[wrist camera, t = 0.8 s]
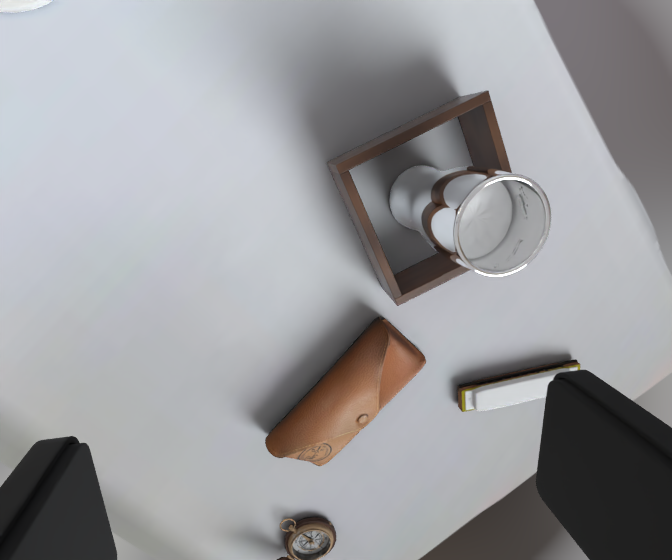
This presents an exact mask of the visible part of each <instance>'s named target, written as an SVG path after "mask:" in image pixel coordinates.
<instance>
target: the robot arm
mask: <svg viewBox="0 0 672 560" xmlns="http://www.w3.org/2000/svg"><path fill="white" fill-rule="evenodd" d="M52 1H53V0H0V12H9V13H18V12H24V11H30V10H35V9H37V8H40V7H42V6H45V5H47V4H49V3H51V2H52ZM536 486H537V489H538V493H539V494H540V497H541V498H542V500H543V501H544V502H545V504H546V505H547V506H548V508H549V509H550V510H551V511H552V512H553V514H554V515H555V516H556V518H557V519H558V520H559V521H560V523H561V524H562V525H563V526H564V528H565V529H566V530H567V532H568V533H569V534H570V535H571V537H572V538H573V539H574V540H575V541H576V543H577V544H578V545H579V547H580V548H581V549H582V550H583V552H584V553H585V554H586V556H587V557H588V558H589V559H590V560H672V428H671V427H670V426H668V425H667V424H665V423H664V422H662V421H661V420H659V419H658V418H657V417H655V416H654V415H652V414H651V413H649V412H648V411H646V410H645V409H643V408H642V407H641V406H639V405H638V404H636V403H635V402H633V401H632V400H630V399H629V398H627V397H626V396H624V395H623V394H622V393H620V392H619V391H617V390H616V389H614V388H613V387H611V386H610V385H608V384H607V383H606V382H604V381H603V380H601V379H600V378H598V377H597V376H595V375H594V374H592V373H591V372H589V371H587V370H576V371H568V372H560V373H558V374H556V375H555V377H554V378H553V380H552V381H550V382H549V384H548V387H547V395H546V403H545V411H544V419H543V427H542V435H541V444H540V452H539V460H538V468H537V476H536ZM0 560H117V551H116V547H115V543H114V539H113V535H112V532H111V528H110V524H109V520H108V517H107V513H106V509H105V505H104V501H103V498H102V494H101V490H100V486H99V482H98V479H97V475H96V471H95V467H94V464H93V460H92V456H91V452H90V449H89V446H88V445H87V444H86V443H79V441H78V439H77V438H76V437H73V436H70V437H63V438H55V439H47V440H41V441H38V442H36V443H35V444H34V445H33V446H32V448H31V449H30V450H29V451H28V453H27V454H26V455H25V456H24V458H23V459H22V460H21V462H20V463H19V464H18V465H17V467H16V468H15V469H14V471H13V472H12V473H11V475H10V476H9V477H8V478H7V480H6V481H5V482H4V483H3V485H2V486H1V487H0Z"/></svg>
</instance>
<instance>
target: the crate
mask: <svg viewBox="0 0 672 560" xmlns="http://www.w3.org/2000/svg"><path fill="white" fill-rule="evenodd" d="M490 100H491V98H490V95H489V91H484V92H479V93H475V94H470V95H466V96H462V97H459V98H457V99H455V100H453V101H451V102H449V103H447V104H445V105H443V106H441V107H438V108H436V109H434V110H432V111H430V112H428V113H426V114H424V115H422V116H420V117H418V118H416V119H414V120H412V121H410V122H408V123H406V124H404V125H402V126H400V127H398V128H396V129H394V130H392V131H390V132H388V133H385V134H383V135H381V136H379V137H377V138H375V139H373V140H371V141H369V142H367V143H365V144H363V145H361V146H359V147H357V148H355V149H353V150H351V151H349V152H347V153H345V154H343V155H341V156H339V157H337V158H335V159H332V160H330V161H328V162H327V165H328V168H329V170H330V172H331V174H332V176H333V179H334V181H335V183H336V185H337V188H338V190H339V192H340V194H341V197H342V199H343V201H344V203H345V206H346V208H347V210H348V212H349V215H350V217H351V219H352V221H353V224H354V226H355V228H356V230H357V232H358V235H359V237H360V239H361V241H362V244H363V246H364V248H365V250H366V253H367V255H368V257H369V259H370V262H371V264H372V266H373V268H374V271H375V273H376V275H377V277H378V280H379V282H380V284H381V286H382V288H383V290H384V291H385V292H386V293H387V294H388V295H389V297H390V298H391V299H392V300H393V301H394V303H395V304H396V305H397V306H399V305H401V304H403V303H405V302H407V301H409V300H411V299H413V298H415V297H417V296H419V295H421V294H423V293H425V292H427V291H429V290H431V289H433V288H435V287H437V286H439V285H441V284H443V283H445V282H447V281H449V280H451V279H453V278H455V277H457V276H459V275H461V274H463V273H465V272H467V271H469V270H471V269H468V268H466V267H463V266H461V265H459V264H457V263H455V262H453V261H451V260H449V259H447V258H446V257H444V256H443V255H441V254H440V253H437V254H435V255H433V256H431V257H429V258H427V259H425V260H423V261H421V262H419V263H417V264H415V265H413V266H411V267H409V268H407V269H405V270H403V271H401V272H399V273H397V274H395V275H393V273H392V270H391V268H390V266H389V263H388V261H387V259H386V256H385V254H384V252H383V249H382V247H381V245H380V242H379V240H378V238H377V235H376V233H375V231H374V229H373V226H372V224H371V222H370V219H369V217H368V215H367V212H366V210H365V208H364V205H363V203H362V201H361V198H360V196H359V194H358V191H357V189H356V187H355V184H354V182H353V180H352V177H351V175H350V173H349V171H348V170H350V169H352V168H354V167H356V166H358V165H360V164H362V163H364V162H366V161H368V160H370V159H372V158H374V157H376V156H378V155H380V154H382V153H384V152H387V151H389V150H391V149H393V148H395V147H397V146H399V145H401V144H403V143H405V142H407V141H409V140H411V139H413V138H415V137H417V136H419V135H421V134H423V133H425V132H427V131H429V130H431V129H433V128H435V127H437V126H439V125H441V124H443V123H446V122H448V121H450V120H452V119H454V118H456V117H458V118H459V121H460V124H461V127H462V130H463V134H464V137H465V140H466V143H467V146H468V149H469V152H470V156H471V159H472V162H473V165H474V166H479V167H488V168H494V169H498V170H502V171H506V172H509V173H512V172H511V168H510V165H509V161H508V158H507V154H506V151H505V147H504V144H503V140H502V137H501V133H500V130H499V126H498V123H497V119H496V116H495V112H494V109H493V105H492V102H491V101H490Z"/></svg>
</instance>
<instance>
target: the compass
mask: <svg viewBox="0 0 672 560" xmlns="http://www.w3.org/2000/svg"><path fill="white" fill-rule="evenodd" d="M286 520H292V521H293V522H294V525H290V526H289V530H284V529H282V528H281V524H282V523H283V522H284V521H286ZM280 529H281V530H283V531H287V533H286V536H285V548H286V551H287V553H288V554H289V555H287V557H281V558H279V559H277V560H295V559H297V560H317V559H319V558H321V557H323V556H325V555H326V554H327V553H329V552H330V551H331V549H332V548H333V547H334V545H335V542H336V532H335V529H334V526H333V525H332V524H331V522H329V521H327V520H325V519H323V518H318V517H311V518H306V519H302V520H300V521H298V522H295V521H294V520H293V519H289V518H288V519H284V520H283V521H282V522H281V523H280ZM294 558H295V559H294Z"/></svg>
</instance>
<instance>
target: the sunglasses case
mask: <svg viewBox="0 0 672 560" xmlns="http://www.w3.org/2000/svg"><path fill="white" fill-rule="evenodd" d="M425 363H426V360H425V357H424V355H423V354H422V353H421V352H420V351H419V350H418V349H417V348H416V347H415V346H414V345H413V344H412V343H411V342H410V341H409V340H407V339H406V338H405V337H404V336H403V335H402V334H401V333H400V332H399V331H398V330H397V329H396V328H395V327H394V326H393V325H392V324H391V323H390V322H388V321H387V320H386V319H385V318H383V317H378V318H377V319H375V320H374V321H373V322H372V323H371V324H370V325H369V326H368V328H367V329H366V330H365V331H364V332H363V333H362V334H361V335H360V336H359V338H358V339H357V340H356V341H355V342H354V344H353V345H352V346H351V347H350V348H349V349H348V350H347V351H346V352H345V353H344V354H343V355H342V357H341V358H340V359H339V360H338V361H337V362H336V363H335V365H334V366H333V367H332V368H331V369H330V370H329V371H328V372H327V373H326V374H325V375H324V376H323V377H322V378H321V379H320V381H319V382H318V383H317V384H316V385H315V386H314V387H313V388H312V389H311V390H310V391H309V392H308V393H307V395H306V396H305V397H304V398H303V399H302V400H301V401H300V402H299V403H298V404H297V405H296V406H295V407H294V408H293V409H292V410H291V411H290V412H289V414H288V415H287V416H286V417H285V418H284V419H283V420H282V421H281V422H280V423H278V425H277V426H276V427H275V428H274V429H273V430H272V431H271V432H270V433H269V435H268V436H267V437H266V440H265V441H266V442H265V444H266V447H267V449H268V451H269V452H270V453H271V454H272V455H273V456H275V457H277V458H283V457H289V458H294V459H299V460H304V461H309V462H312V463H313V464H315V465H317V466H322V465H324V464H326V463H327V462H329V461H330V460H331V459H332V458H333V457H334V456H335V455H336V454H337V453H338V452H340V450H342V449H343V447H345V445H347V444H348V443H349V442H350V441H351V440H352V438H353V437H354V436H355V435H357V434H358V433H359V431H360V430H361V429H363V428H364V427H365V426H367V425H368V424H369V423H370V422H371V421H372V420H373V419H374V418H375V417H376V415H377V414H378V412H379V411H380V410H381V409H382V408H383V407H384V406H385V405H386V404H387V403H388V402H389V401H390V400H391V399H392V398H393V397H394V396H395V395H396V394H397V393H398V392H399V391H400V390H401V389H402V388H403V387H404V386H405V385H406V384H407V383H408V382H409V381H410V380H411V379H412V378H413V377H414V376H416V374H417V373H418V372H419V371H420V370H421V369H422V367H423V366H424V364H425Z"/></svg>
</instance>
